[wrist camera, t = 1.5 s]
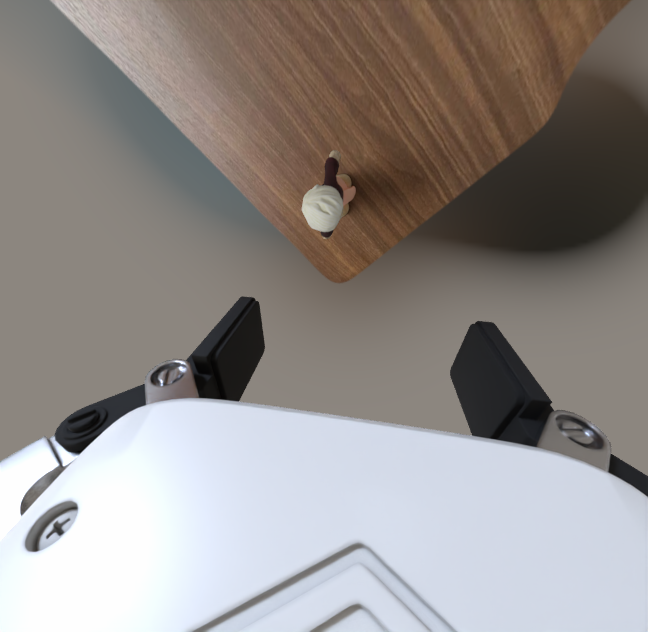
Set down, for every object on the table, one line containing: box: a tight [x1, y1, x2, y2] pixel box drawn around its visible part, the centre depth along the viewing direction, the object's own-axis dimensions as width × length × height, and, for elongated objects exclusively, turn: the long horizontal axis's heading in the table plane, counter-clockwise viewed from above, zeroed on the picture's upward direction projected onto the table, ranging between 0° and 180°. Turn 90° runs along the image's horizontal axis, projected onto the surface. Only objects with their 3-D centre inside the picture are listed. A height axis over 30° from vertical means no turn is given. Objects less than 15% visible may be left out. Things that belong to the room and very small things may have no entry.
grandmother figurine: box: [302, 150, 356, 239], centre depth 23 cm, size 8×4×13 cm, turn 5°
